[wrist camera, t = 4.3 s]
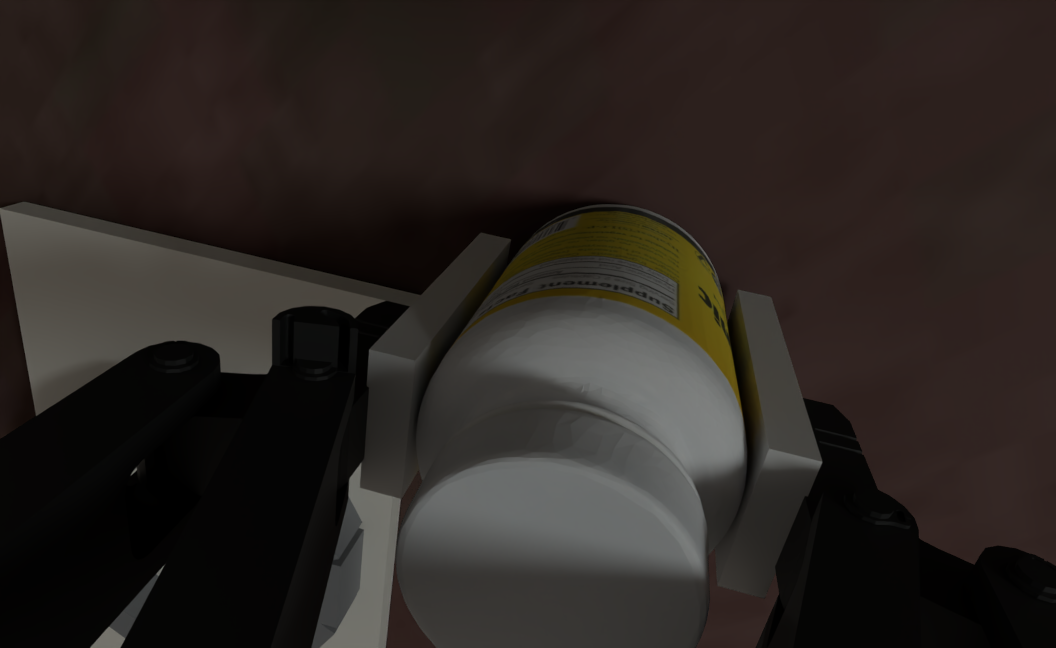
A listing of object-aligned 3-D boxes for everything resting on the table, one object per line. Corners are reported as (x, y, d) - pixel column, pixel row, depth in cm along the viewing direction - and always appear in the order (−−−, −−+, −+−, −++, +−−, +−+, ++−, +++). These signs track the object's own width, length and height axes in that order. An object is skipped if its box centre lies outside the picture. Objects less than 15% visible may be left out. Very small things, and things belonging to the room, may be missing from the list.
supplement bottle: (701, 415, 18) (716, 790, 9) (500, 378, 19) (339, 691, 10) (747, 214, 16) (825, 459, 7) (517, 182, 17) (327, 366, 8)
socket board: (24, 201, 20) (-57, 223, 18) (421, 295, 18) (385, 332, 16) (94, 637, 27) (43, 690, 25) (377, 727, 26) (349, 791, 24)
